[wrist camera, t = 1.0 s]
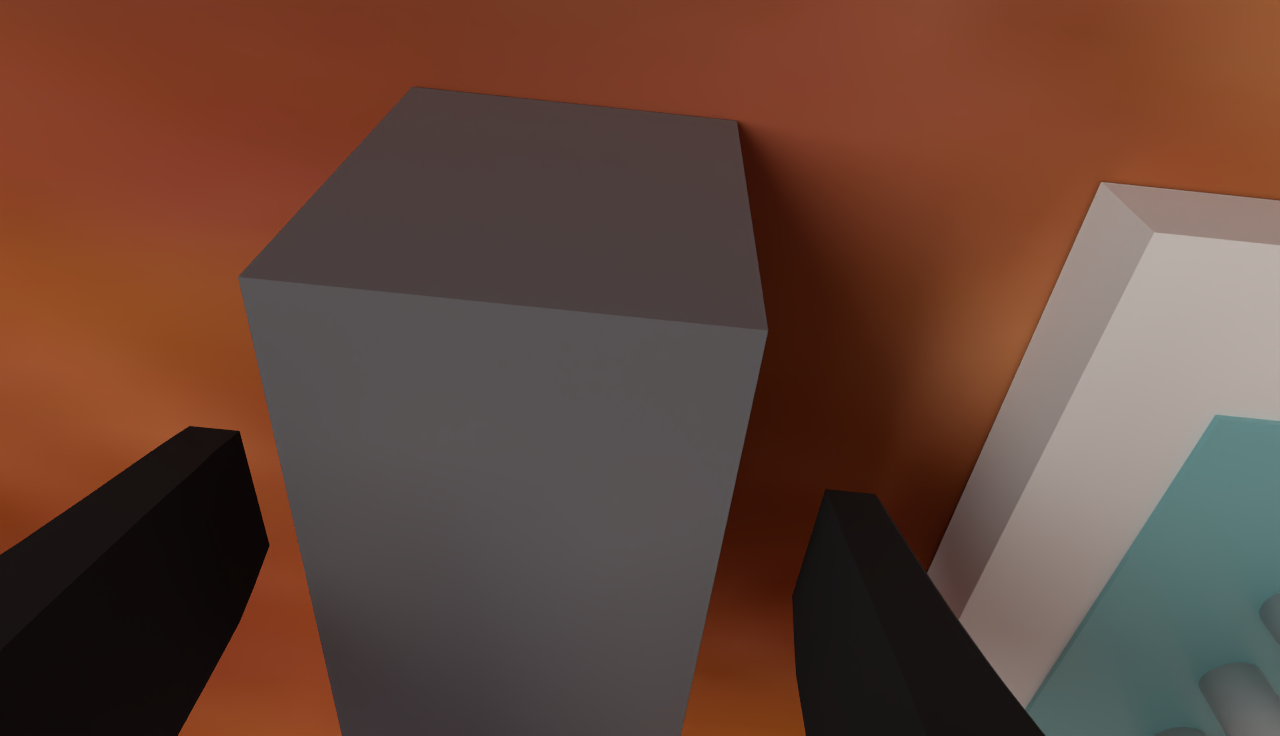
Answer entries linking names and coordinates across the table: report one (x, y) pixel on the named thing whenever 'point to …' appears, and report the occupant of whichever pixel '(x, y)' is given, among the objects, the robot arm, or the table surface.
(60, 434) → the table surface
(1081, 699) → the pin board
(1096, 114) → the table surface
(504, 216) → the block
